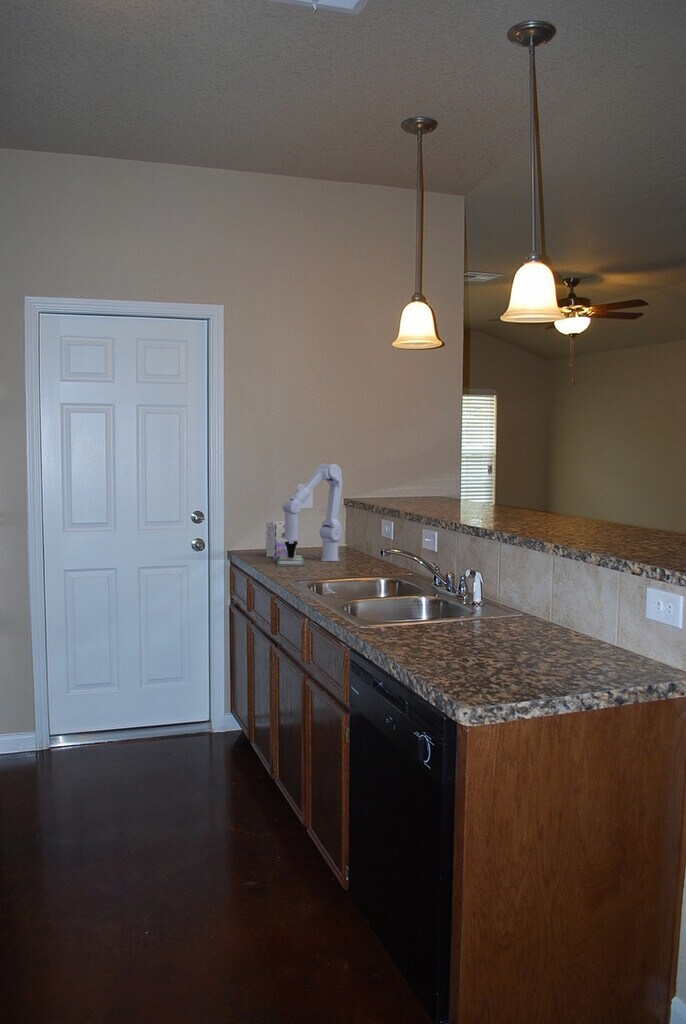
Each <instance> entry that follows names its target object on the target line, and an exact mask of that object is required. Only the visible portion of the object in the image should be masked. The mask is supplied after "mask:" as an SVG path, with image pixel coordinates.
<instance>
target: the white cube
mask: <svg viewBox="0 0 686 1024" xmlns="http://www.w3.org/2000/svg"><path fill="white" fill-rule="evenodd" d="M296 555H297V551H296V550H295V552H294V557H293V558H289V557H288V551H286V560H296Z"/></svg>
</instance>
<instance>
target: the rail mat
mask: <svg viewBox="0 0 686 1024" xmlns="http://www.w3.org/2000/svg"><path fill="white" fill-rule="evenodd" d="M276 559H277V560H276V561H277V562H276V567H302V566H305V565H306V563H305V558H304V557H303V555H299V554H296V560H286V555H280V557H279V558H276Z"/></svg>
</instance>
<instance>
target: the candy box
mask: <svg viewBox="0 0 686 1024" xmlns="http://www.w3.org/2000/svg"><path fill="white" fill-rule="evenodd" d="M265 537H266V542H265V543H266V546H265V547H266V549H265V550H266V551H265V553H266V554H265V557H266V558H271V559H278V557H279V558H280V555H286V551H287V547H286V545H285V542H289V540H286V539H282V537H285V519H284V520H279V521H278V520H277V521H276V520H275V521H270V522H268V521H267V522H266V536H265Z"/></svg>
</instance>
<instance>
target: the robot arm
mask: <svg viewBox="0 0 686 1024" xmlns="http://www.w3.org/2000/svg"><path fill="white" fill-rule="evenodd" d="M342 478H343V477H342V469H341V467H339V465H338V464H336V463H333V464H330V463H329V464H328V463H320V464H319V465H318V466H317V468H315V470H314V473H313V474H312V476H310V478H309V480H308V481H307V482H306V483H305V485H304V486H303V487H298V488H296V490H295V492H294V494H293V495H292V496H290V497H289V499H286V500H285V501H284V503H283V505H282V507H281V508H282V511H283V512H284V520H285V537H282V539H286V540H289V542H285V545H286V547H287V551H288V557H289V558H293V557H294V552H295V551H296V548H297V545H298V541H297V540H298V539H299V512H300V511H301V510H302V506H303V504H304V503H305V502H306V501H307V499H309V497H310V496H311V495H310V492H311V491H313V489H314V488H315V487H316V486H317V485H318V484H319V483H320V482H321V481H324V480H325V481H326V482H327V483H328V485H329V491H328V500H327V509H326V514H325V516H326V517H325V520H323V521H322V522H321V523H322V524H321V527H320V529H319V536H320V538H321V540H322V546H321V548H322V551H321V553H322V556H321V557H320V559H321V562H340V558H339V541H340V539H341V538H342V535H343V533H342V532H343V531H342V529H341V527H342V525H341V523H340V522H339V514H340V506H341V505H340V504H341V498H342V492H343V491H342V489H343V479H342Z"/></svg>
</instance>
